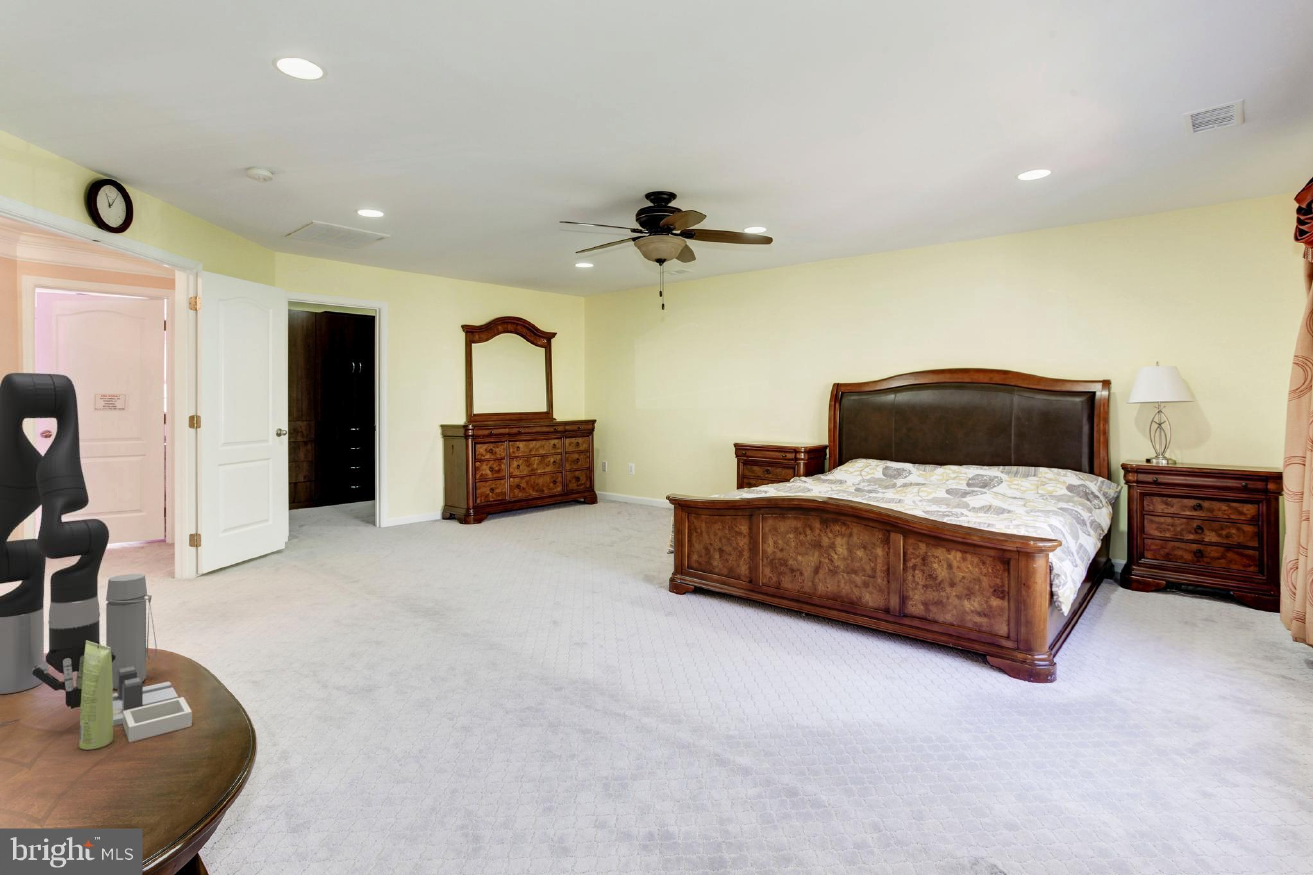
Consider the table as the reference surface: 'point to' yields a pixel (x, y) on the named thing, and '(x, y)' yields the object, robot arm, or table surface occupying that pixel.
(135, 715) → the frame
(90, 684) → the tube
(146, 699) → the breaker panel
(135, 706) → the block
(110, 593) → the water bottle
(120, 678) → the block
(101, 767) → the table surface
